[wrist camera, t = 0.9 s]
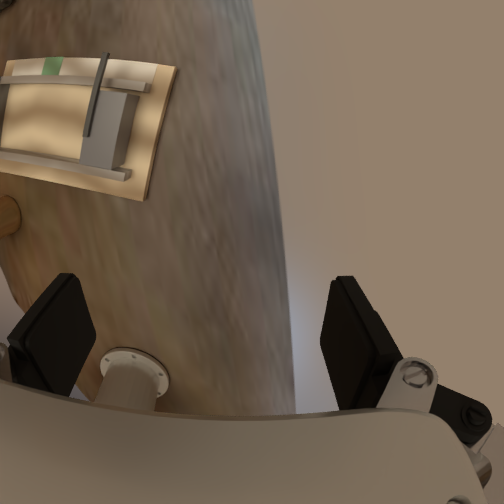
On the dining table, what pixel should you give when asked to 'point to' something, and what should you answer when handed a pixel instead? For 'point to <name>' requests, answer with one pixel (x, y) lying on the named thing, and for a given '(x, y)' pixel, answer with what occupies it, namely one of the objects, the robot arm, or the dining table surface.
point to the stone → (4, 4)
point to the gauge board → (78, 120)
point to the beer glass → (9, 216)
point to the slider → (107, 124)
